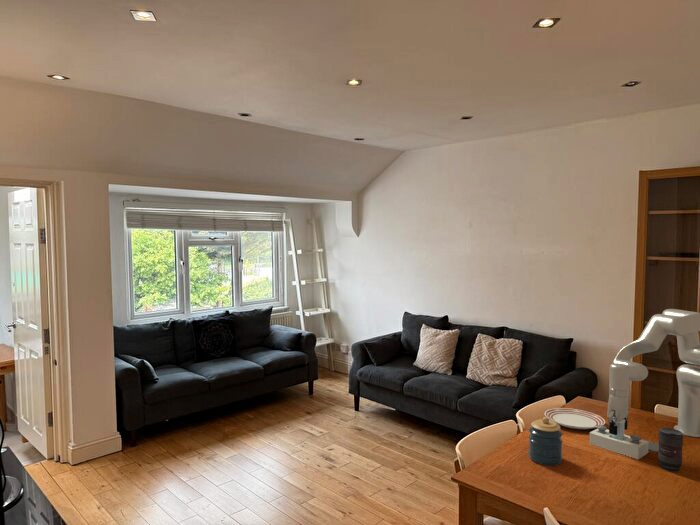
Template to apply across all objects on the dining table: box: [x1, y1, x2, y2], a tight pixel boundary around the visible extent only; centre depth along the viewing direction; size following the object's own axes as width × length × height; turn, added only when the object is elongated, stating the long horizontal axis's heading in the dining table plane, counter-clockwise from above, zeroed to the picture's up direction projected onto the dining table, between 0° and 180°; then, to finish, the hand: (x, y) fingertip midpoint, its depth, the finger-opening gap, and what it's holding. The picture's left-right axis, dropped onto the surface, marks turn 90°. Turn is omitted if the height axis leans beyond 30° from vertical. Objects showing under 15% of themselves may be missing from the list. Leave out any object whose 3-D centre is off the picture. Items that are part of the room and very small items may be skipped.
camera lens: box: [657, 427, 684, 473], centre depth 191 cm, size 8×8×15 cm
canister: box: [528, 416, 564, 466], centre depth 200 cm, size 13×13×18 cm
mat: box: [644, 439, 659, 454], centre depth 211 cm, size 9×9×1 cm
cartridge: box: [612, 417, 625, 441], centre depth 210 cm, size 5×5×13 cm
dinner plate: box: [544, 407, 606, 430], centre depth 240 cm, size 27×27×3 cm
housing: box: [588, 428, 649, 460], centre depth 210 cm, size 20×10×5 cm, turn 37°
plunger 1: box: [596, 424, 608, 434], centre depth 216 cm, size 4×4×6 cm
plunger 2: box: [629, 434, 642, 444], centre depth 204 cm, size 4×4×6 cm
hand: (618, 431), depth 210 cm, fingers open, 9 cm apart
